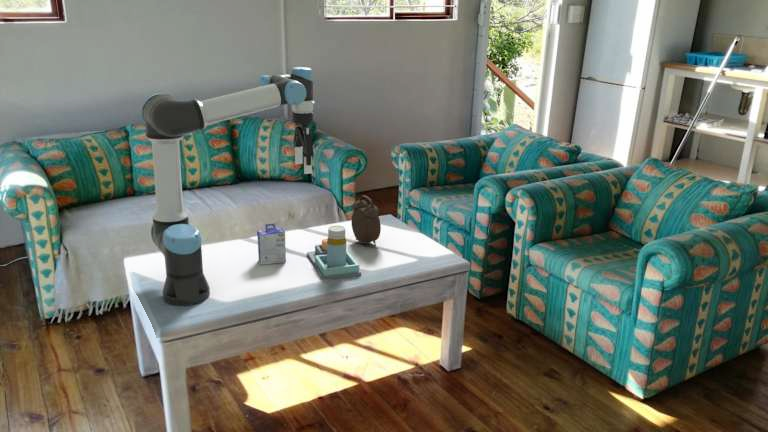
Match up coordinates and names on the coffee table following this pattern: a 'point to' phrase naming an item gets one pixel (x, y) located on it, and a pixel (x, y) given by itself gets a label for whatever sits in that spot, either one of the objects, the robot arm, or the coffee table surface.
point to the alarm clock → (365, 221)
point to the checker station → (328, 273)
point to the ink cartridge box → (271, 245)
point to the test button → (324, 245)
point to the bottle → (336, 246)
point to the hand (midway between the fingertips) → (303, 168)
